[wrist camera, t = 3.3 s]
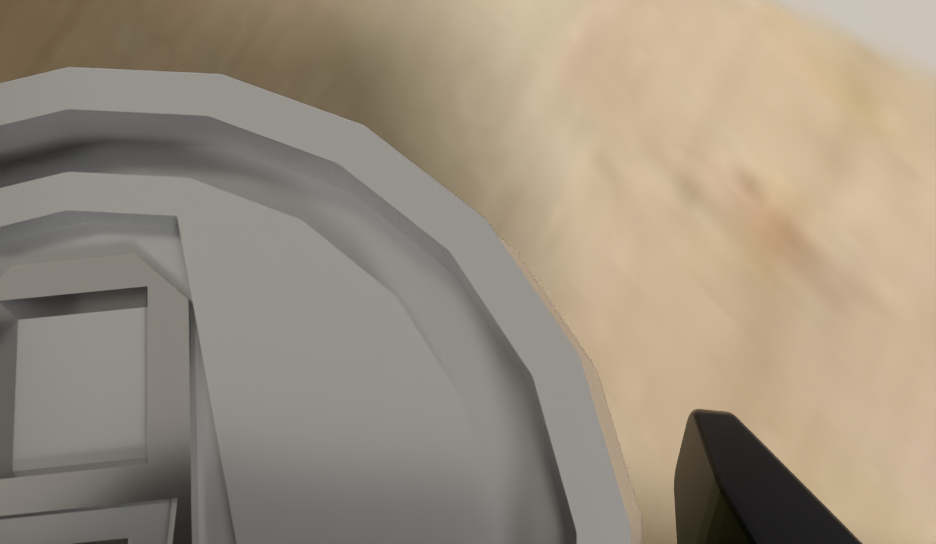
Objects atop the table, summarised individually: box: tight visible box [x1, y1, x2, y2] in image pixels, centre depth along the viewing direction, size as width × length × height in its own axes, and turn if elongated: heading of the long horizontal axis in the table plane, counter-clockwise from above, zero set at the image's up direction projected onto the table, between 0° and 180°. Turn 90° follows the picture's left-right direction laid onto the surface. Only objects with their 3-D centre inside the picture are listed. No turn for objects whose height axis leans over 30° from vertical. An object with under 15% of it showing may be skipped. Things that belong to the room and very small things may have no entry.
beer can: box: [0, 67, 642, 544], centre depth 9 cm, size 5×5×12 cm
